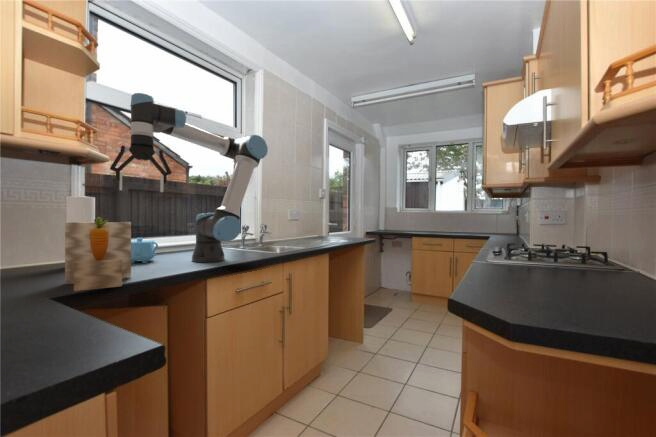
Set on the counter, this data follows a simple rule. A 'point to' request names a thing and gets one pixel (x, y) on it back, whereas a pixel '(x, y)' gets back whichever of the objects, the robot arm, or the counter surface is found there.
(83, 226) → the beige patterned block
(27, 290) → the counter surface
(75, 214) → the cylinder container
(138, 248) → the teapot
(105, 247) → the carrot
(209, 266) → the counter surface
